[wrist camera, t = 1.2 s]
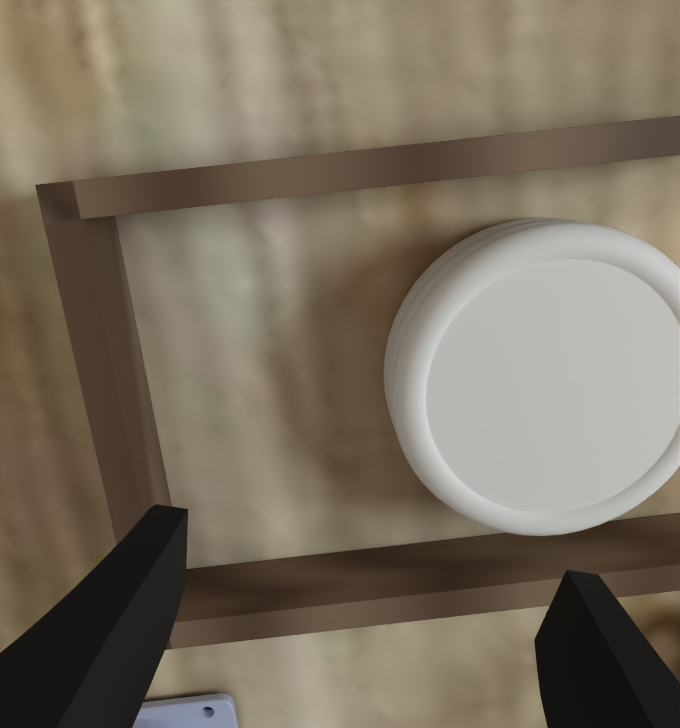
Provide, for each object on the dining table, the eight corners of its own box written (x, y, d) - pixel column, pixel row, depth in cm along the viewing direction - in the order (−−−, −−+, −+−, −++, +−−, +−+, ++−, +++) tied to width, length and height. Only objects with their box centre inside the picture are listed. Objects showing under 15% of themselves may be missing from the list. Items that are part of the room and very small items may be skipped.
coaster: (480, 160, 20) (513, 155, 17) (720, 306, 22) (795, 328, 19) (330, 418, 23) (333, 459, 19) (559, 533, 24) (599, 590, 21)
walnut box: (162, 596, 24) (141, 652, 21) (75, 184, 20) (35, 185, 17) (686, 535, 24) (737, 583, 21) (709, 117, 20) (775, 105, 17)
